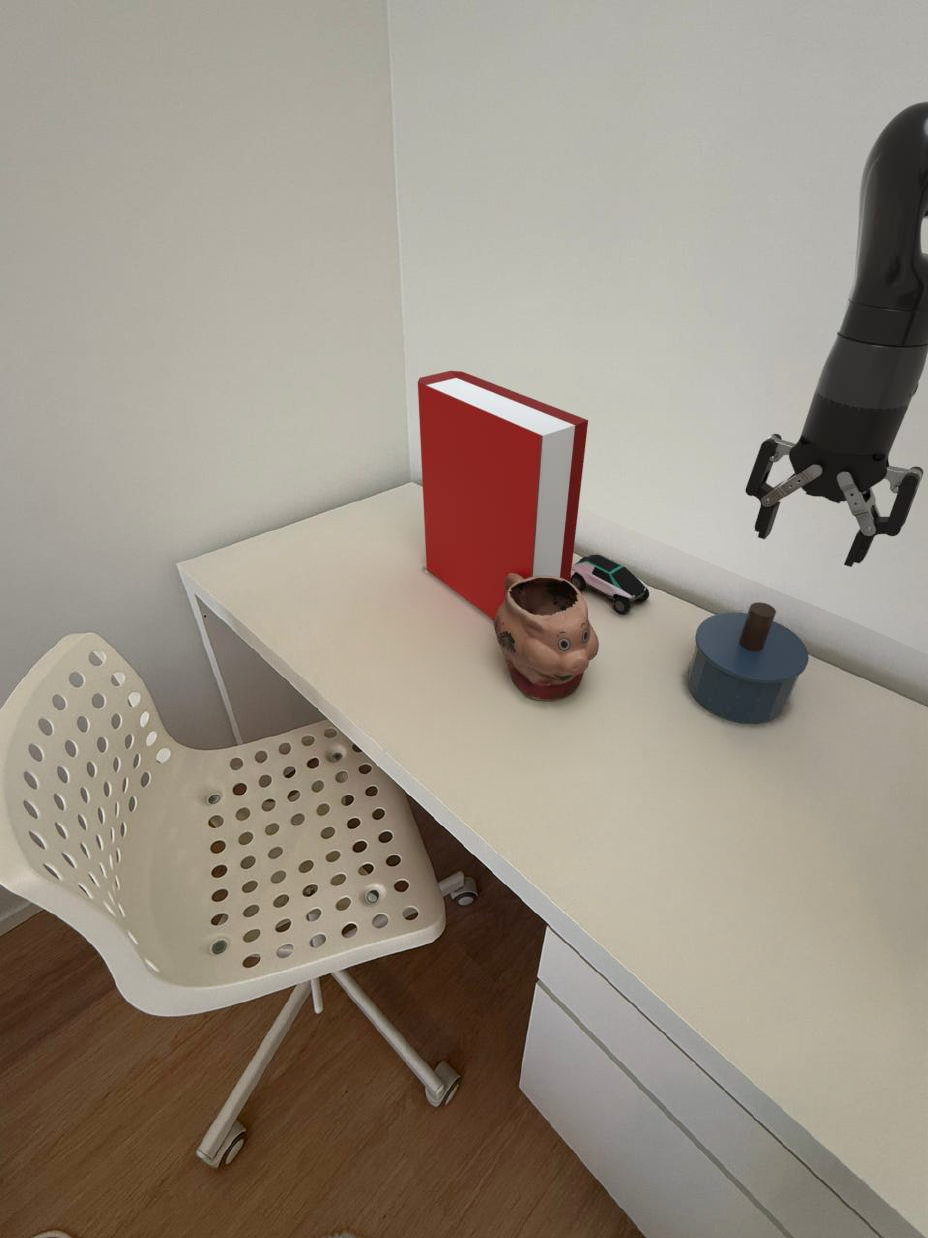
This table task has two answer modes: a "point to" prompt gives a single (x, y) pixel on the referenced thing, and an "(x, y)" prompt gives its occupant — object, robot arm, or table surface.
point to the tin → (736, 693)
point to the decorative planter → (545, 635)
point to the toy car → (609, 581)
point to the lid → (752, 645)
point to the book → (496, 485)
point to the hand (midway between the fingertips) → (805, 549)
